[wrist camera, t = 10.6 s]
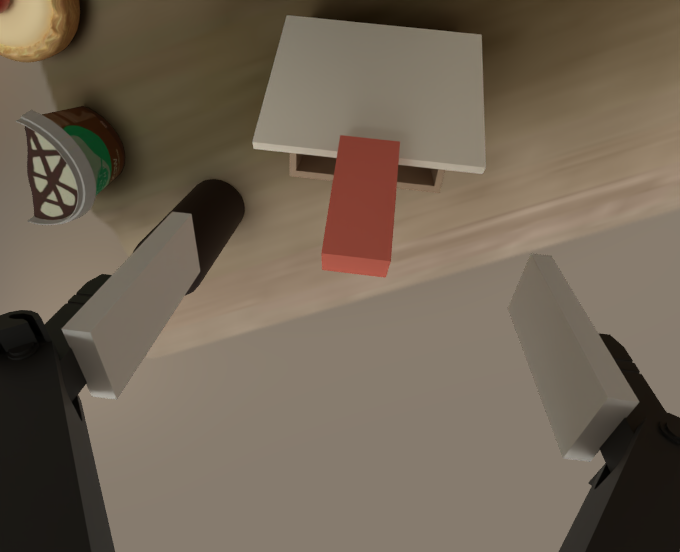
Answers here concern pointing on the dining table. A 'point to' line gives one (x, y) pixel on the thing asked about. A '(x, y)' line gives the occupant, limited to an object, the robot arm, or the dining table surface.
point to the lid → (373, 119)
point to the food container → (69, 162)
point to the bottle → (210, 221)
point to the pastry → (36, 28)
